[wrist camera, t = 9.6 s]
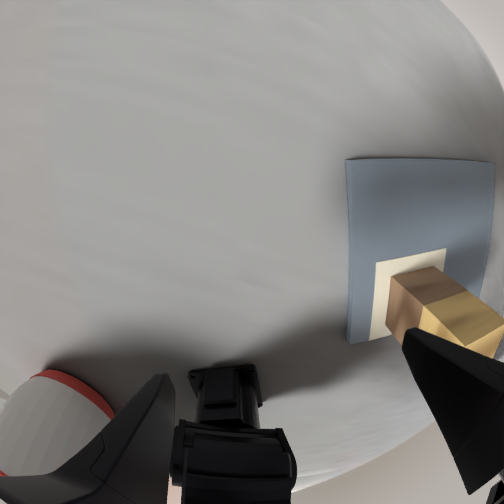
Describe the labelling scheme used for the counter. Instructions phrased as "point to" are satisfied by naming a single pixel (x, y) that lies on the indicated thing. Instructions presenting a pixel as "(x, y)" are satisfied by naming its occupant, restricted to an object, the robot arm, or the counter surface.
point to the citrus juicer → (48, 423)
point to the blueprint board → (413, 229)
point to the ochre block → (464, 322)
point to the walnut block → (416, 297)
